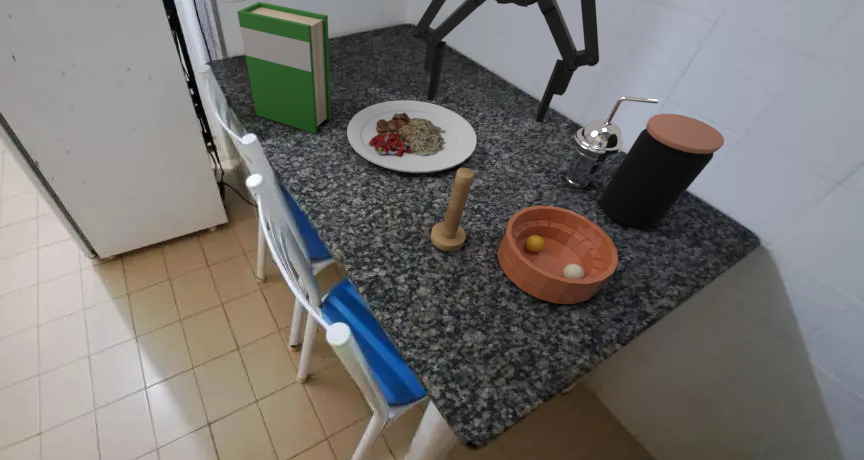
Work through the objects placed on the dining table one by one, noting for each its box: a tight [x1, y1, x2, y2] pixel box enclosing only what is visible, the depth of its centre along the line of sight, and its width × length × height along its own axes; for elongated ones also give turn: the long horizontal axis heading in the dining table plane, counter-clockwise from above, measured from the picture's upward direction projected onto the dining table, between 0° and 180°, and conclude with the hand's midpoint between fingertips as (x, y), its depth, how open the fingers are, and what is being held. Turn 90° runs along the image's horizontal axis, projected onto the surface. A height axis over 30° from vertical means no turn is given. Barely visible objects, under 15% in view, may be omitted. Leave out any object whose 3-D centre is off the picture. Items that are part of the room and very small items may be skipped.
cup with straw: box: [564, 95, 659, 189], centre depth 75 cm, size 8×9×20 cm
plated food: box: [346, 99, 478, 174], centre depth 91 cm, size 30×30×3 cm
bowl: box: [496, 205, 619, 305], centre depth 64 cm, size 17×17×6 cm
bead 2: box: [563, 264, 584, 279], centre depth 63 cm, size 3×3×3 cm
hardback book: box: [236, 1, 332, 135], centre depth 90 cm, size 18×7×24 cm, turn 62°
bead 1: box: [525, 235, 545, 252], centre depth 67 cm, size 3×3×3 cm
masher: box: [430, 167, 475, 252], centre depth 65 cm, size 6×6×15 cm
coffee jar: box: [600, 113, 725, 229], centre depth 69 cm, size 11×11×18 cm
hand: (483, 106), depth 50 cm, fingers open, 13 cm apart
